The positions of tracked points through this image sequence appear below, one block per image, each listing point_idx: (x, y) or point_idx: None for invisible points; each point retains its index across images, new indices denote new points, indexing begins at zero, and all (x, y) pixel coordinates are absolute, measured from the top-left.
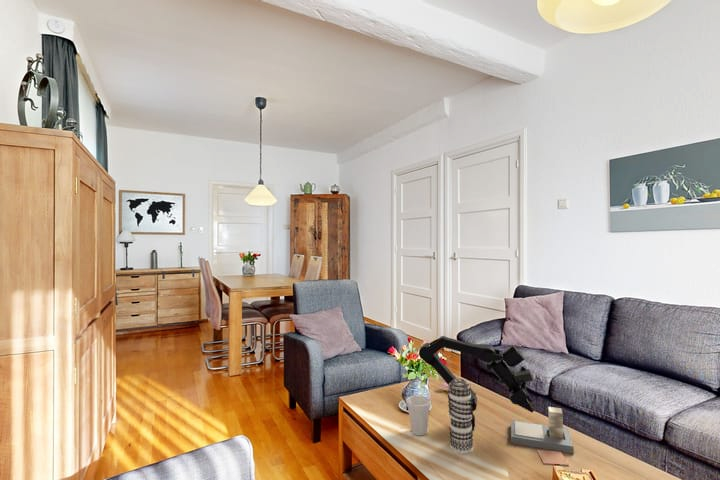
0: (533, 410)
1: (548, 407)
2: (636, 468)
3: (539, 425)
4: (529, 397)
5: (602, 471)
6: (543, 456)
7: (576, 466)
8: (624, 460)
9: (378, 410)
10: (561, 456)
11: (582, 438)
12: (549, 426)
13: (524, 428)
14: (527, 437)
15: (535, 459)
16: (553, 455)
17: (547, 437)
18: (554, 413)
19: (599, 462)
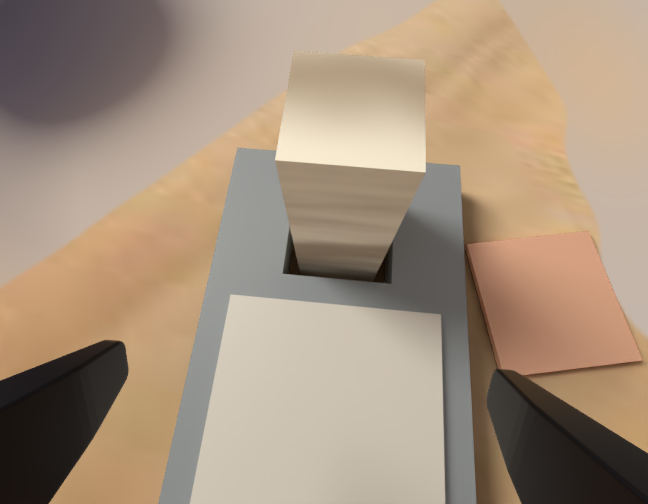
0: (524, 377)
1: (297, 160)
2: (473, 9)
3: (240, 312)
4: (71, 381)
5: (556, 113)
6: (566, 349)
7: (569, 201)
8: (427, 26)
9: None
10: (519, 249)
11: (275, 119)
12: (377, 244)
13: (316, 445)
14: (446, 437)
15: (608, 405)
16: (528, 289)
17: (397, 287)
18: (422, 132)
19: (484, 106)
